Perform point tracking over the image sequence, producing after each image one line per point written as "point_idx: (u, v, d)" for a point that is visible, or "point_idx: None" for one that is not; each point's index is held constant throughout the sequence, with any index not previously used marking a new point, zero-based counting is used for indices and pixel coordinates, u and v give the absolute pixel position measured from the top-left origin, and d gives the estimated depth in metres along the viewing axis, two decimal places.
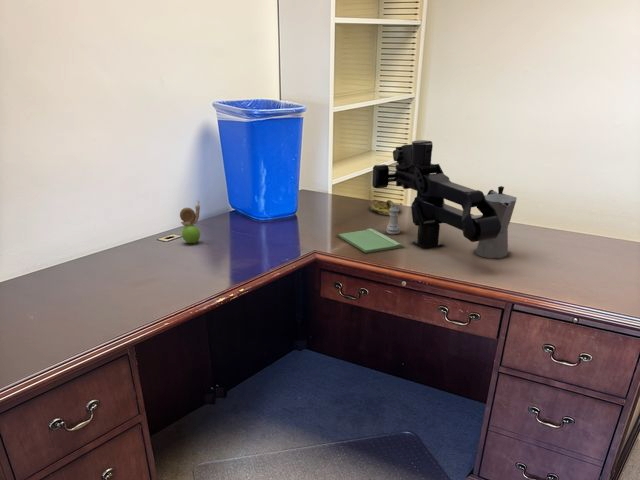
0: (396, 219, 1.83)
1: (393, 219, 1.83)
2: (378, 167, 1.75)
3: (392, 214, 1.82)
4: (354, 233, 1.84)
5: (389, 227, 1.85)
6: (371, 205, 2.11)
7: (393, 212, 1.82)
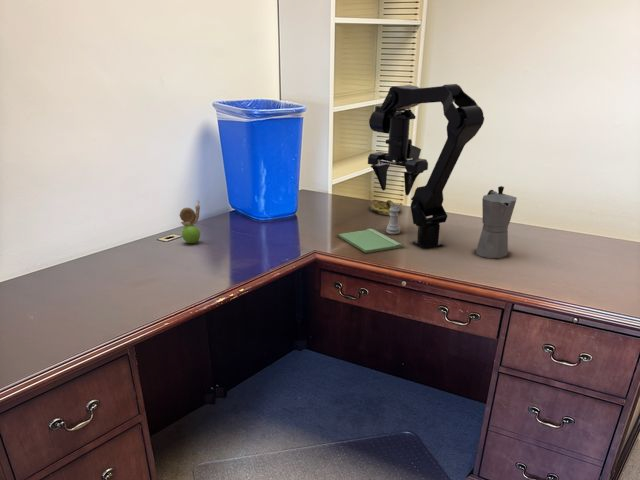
0: (396, 219, 1.83)
1: (393, 219, 1.83)
2: None
3: (392, 214, 1.82)
4: (354, 233, 1.84)
5: (389, 227, 1.85)
6: (371, 205, 2.11)
7: (393, 212, 1.82)
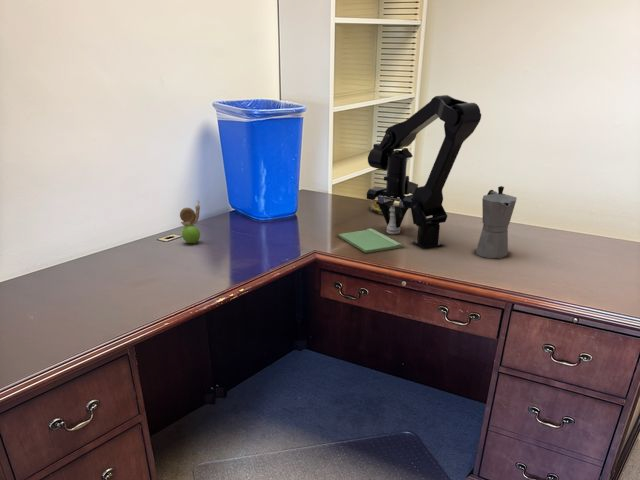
0: None
1: (393, 219, 1.83)
2: None
3: (392, 214, 1.82)
4: (354, 233, 1.84)
5: (389, 227, 1.85)
6: (371, 205, 2.11)
7: (393, 212, 1.82)
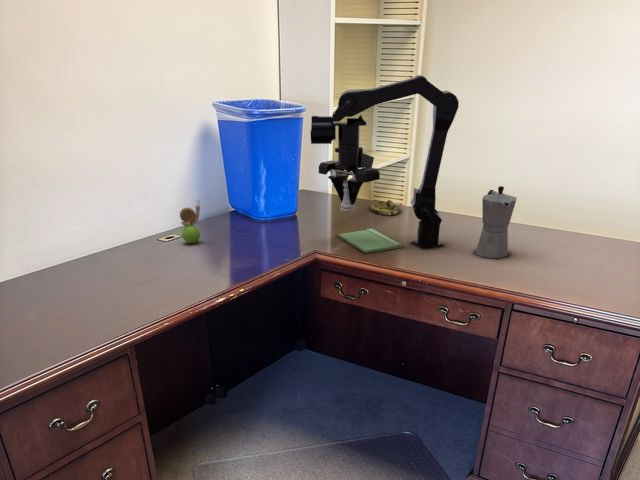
0: None
1: (347, 195, 1.68)
2: None
3: (346, 189, 1.68)
4: (354, 233, 1.84)
5: (343, 204, 1.70)
6: (371, 205, 2.11)
7: (347, 188, 1.67)
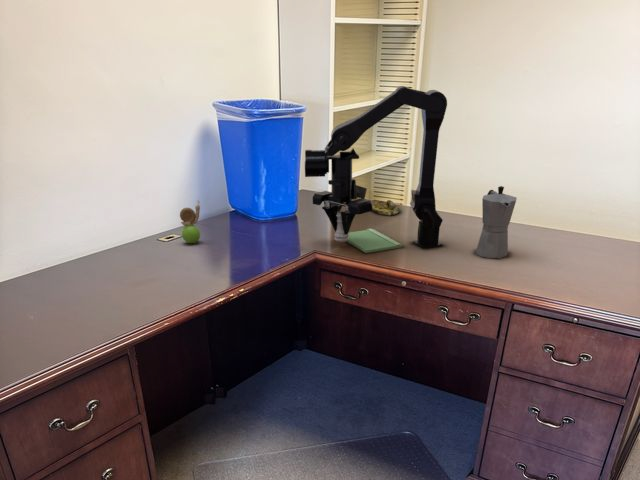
0: None
1: (340, 225, 1.72)
2: None
3: (339, 220, 1.71)
4: (354, 233, 1.84)
5: (337, 234, 1.73)
6: None
7: (340, 218, 1.71)
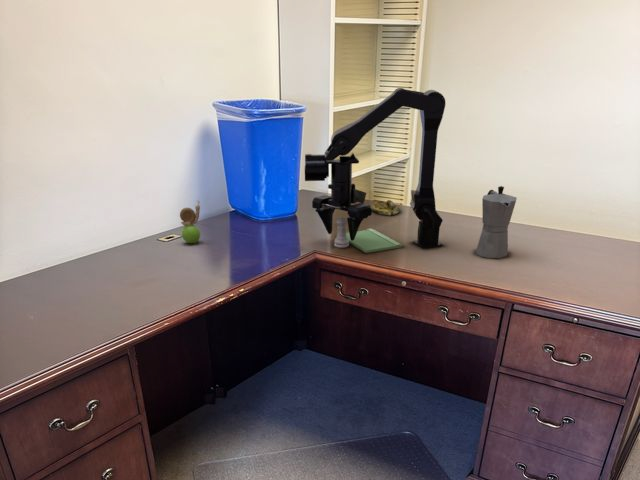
0: (344, 232, 1.73)
1: (340, 232, 1.73)
2: None
3: (339, 227, 1.72)
4: None
5: (337, 240, 1.74)
6: (371, 205, 2.11)
7: (340, 225, 1.72)
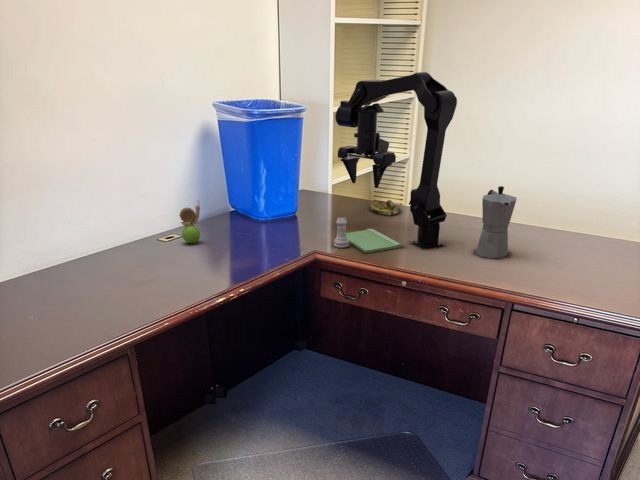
0: (344, 232, 1.73)
1: (340, 232, 1.73)
2: None
3: (339, 227, 1.72)
4: (354, 233, 1.84)
5: (337, 240, 1.74)
6: (371, 205, 2.11)
7: (340, 225, 1.72)
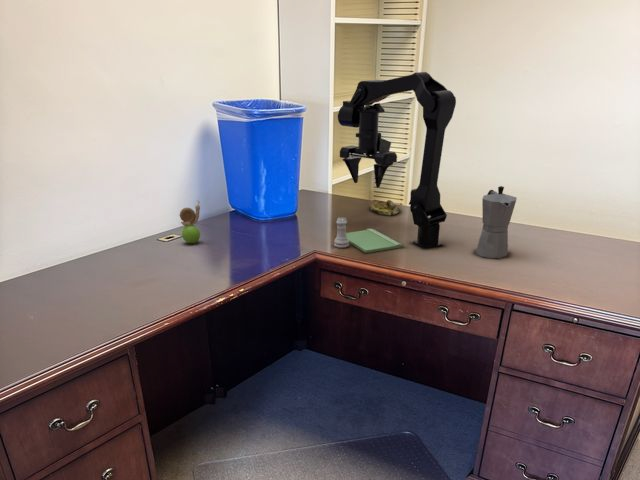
0: (344, 232, 1.73)
1: (340, 232, 1.73)
2: None
3: (339, 227, 1.72)
4: (354, 233, 1.84)
5: (337, 240, 1.74)
6: (371, 205, 2.11)
7: (340, 225, 1.72)
